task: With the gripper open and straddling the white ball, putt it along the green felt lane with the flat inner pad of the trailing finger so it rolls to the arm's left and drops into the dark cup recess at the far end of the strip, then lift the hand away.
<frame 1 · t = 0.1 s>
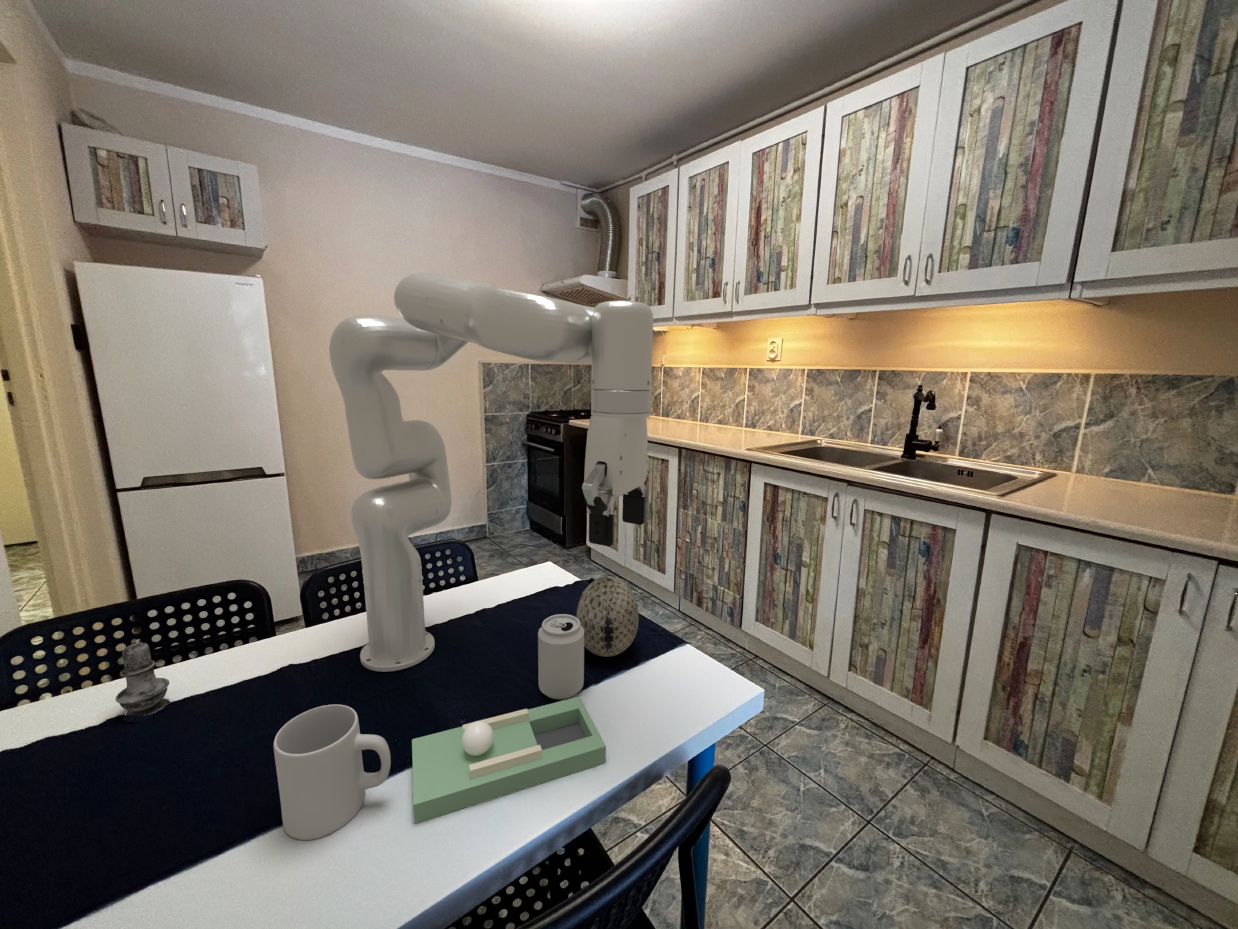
hand: (618, 532, 65), 31 cm above the table, tool pointing down, fingers open, 9 cm apart
gray stone finial: (147, 712, 75), on the table
can: (561, 689, 82), on the table
mug: (341, 808, 59), on the table
decorative egg: (606, 653, 93), on the table
green: (509, 759, 67), on the table
ball: (477, 738, 64), point 5 cm above the table, touching green
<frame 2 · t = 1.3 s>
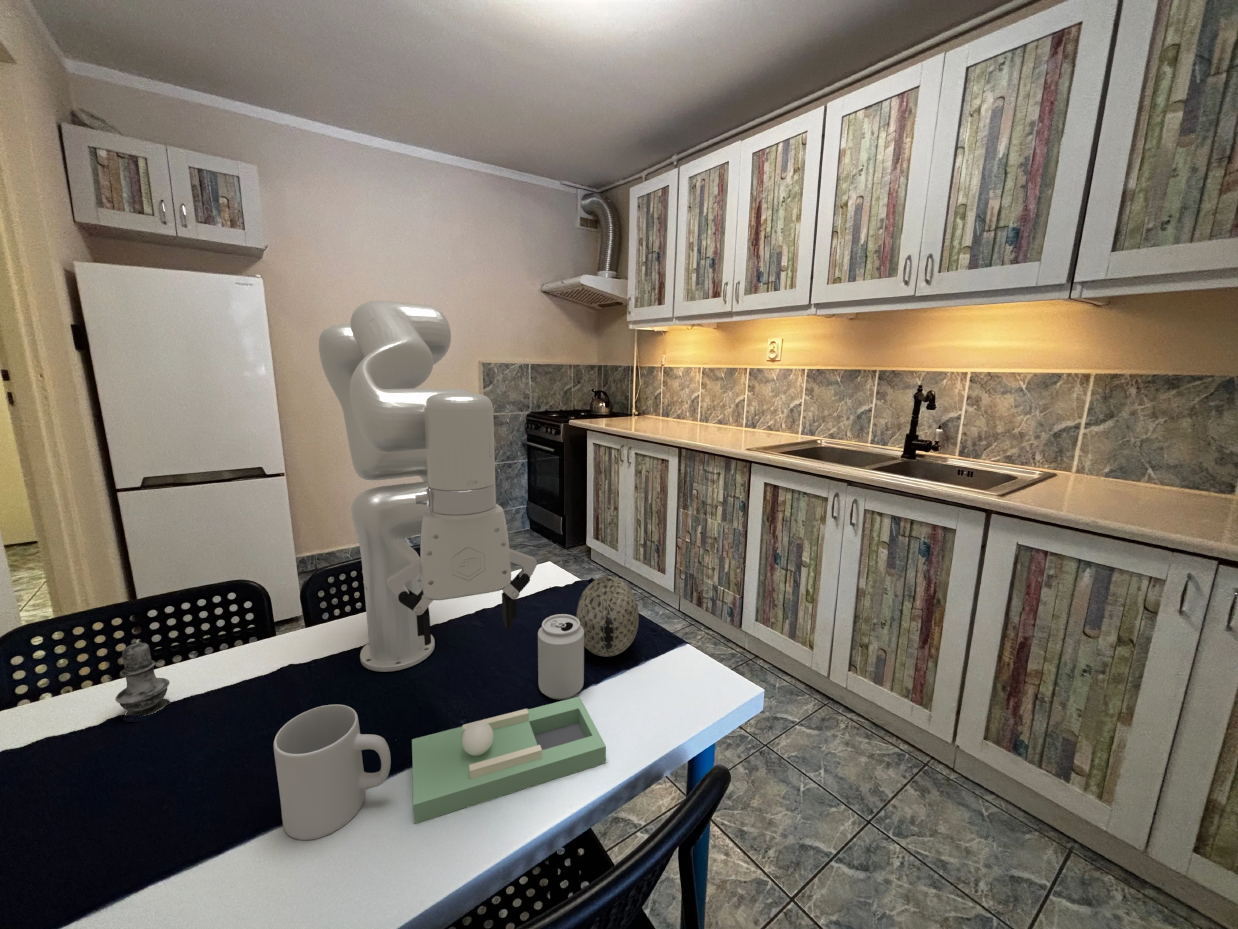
hand: (468, 631, 61), 20 cm above the table, tool pointing down, fingers open, 9 cm apart
nothing on the table moved.
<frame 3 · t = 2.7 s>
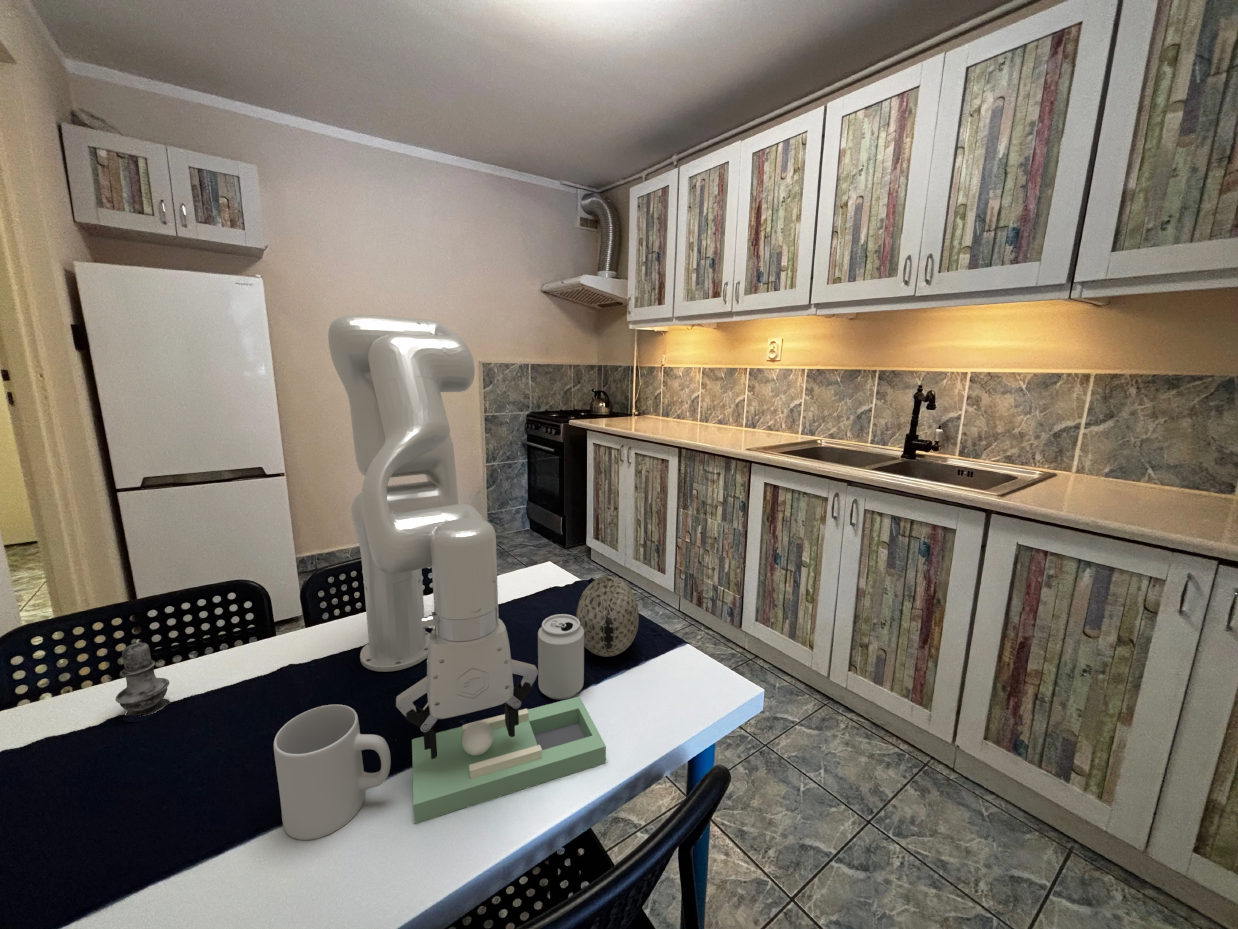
hand: (472, 740, 64), 5 cm above the table, tool pointing down, fingers open, 9 cm apart
nothing on the table moved.
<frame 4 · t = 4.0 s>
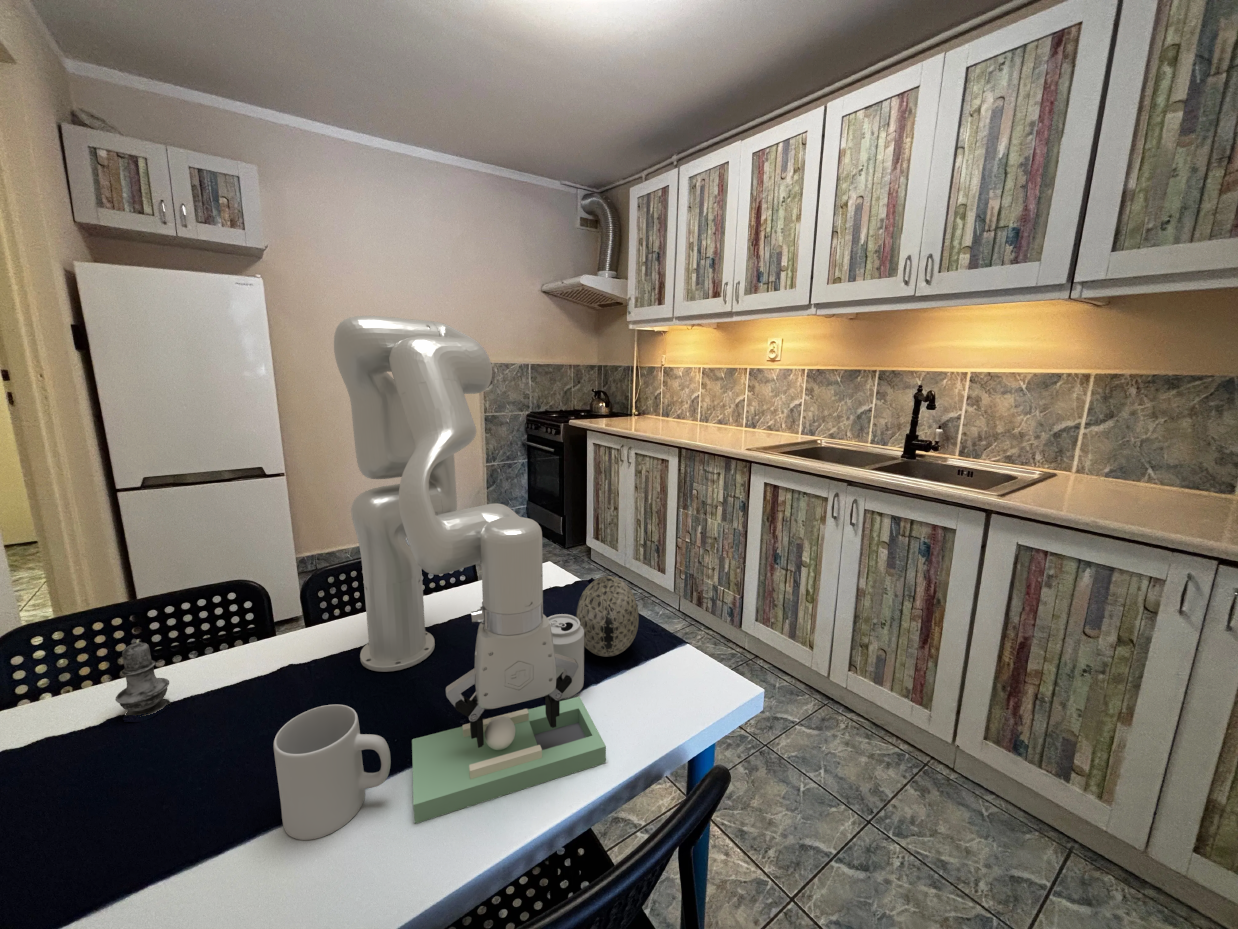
hand: (516, 730, 66), 4 cm above the table, tool pointing down, fingers open, 9 cm apart
ball: (500, 732, 65), point 5 cm above the table, tilted 80°, touching green
everything else where it was.
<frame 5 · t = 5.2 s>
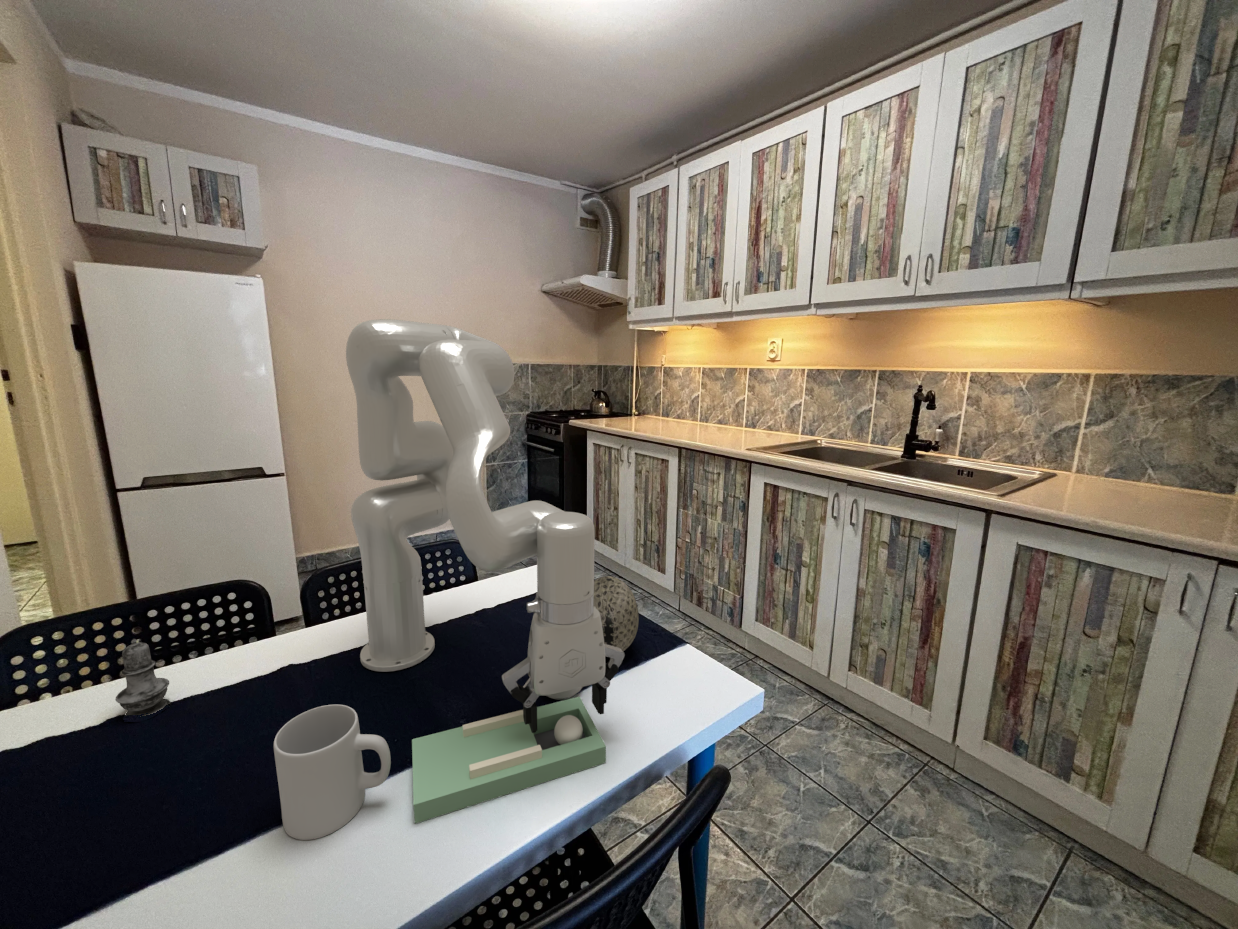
hand: (565, 716, 69), 4 cm above the table, tool pointing down, fingers open, 9 cm apart
ball: (568, 731, 69), point 2 cm above the table, tilted 14°, touching green
everything else where it was.
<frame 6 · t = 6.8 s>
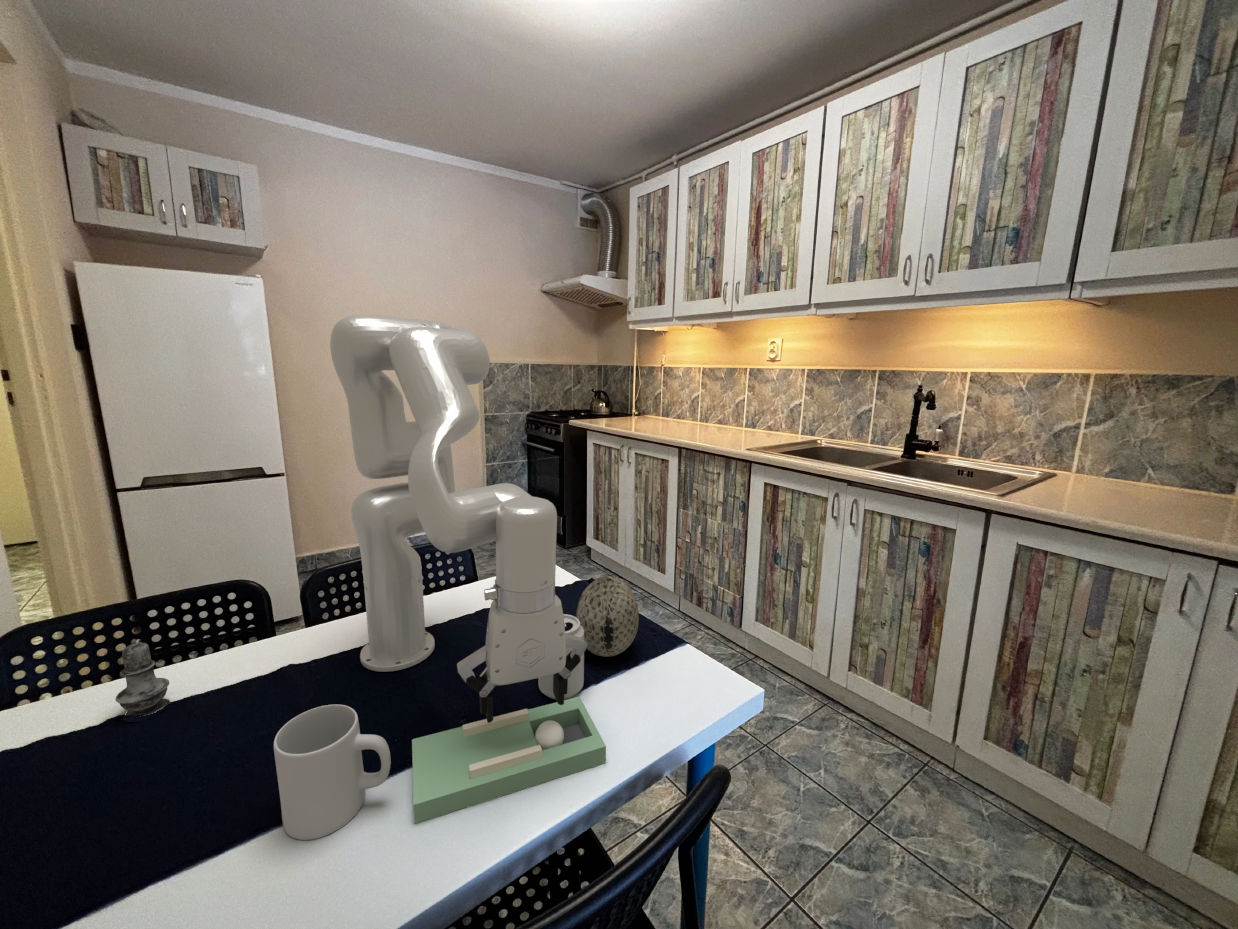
hand: (524, 706, 67), 7 cm above the table, tool pointing down, fingers open, 9 cm apart
ball: (549, 736, 68), point 2 cm above the table, tilted 66°, touching green
everything else where it was.
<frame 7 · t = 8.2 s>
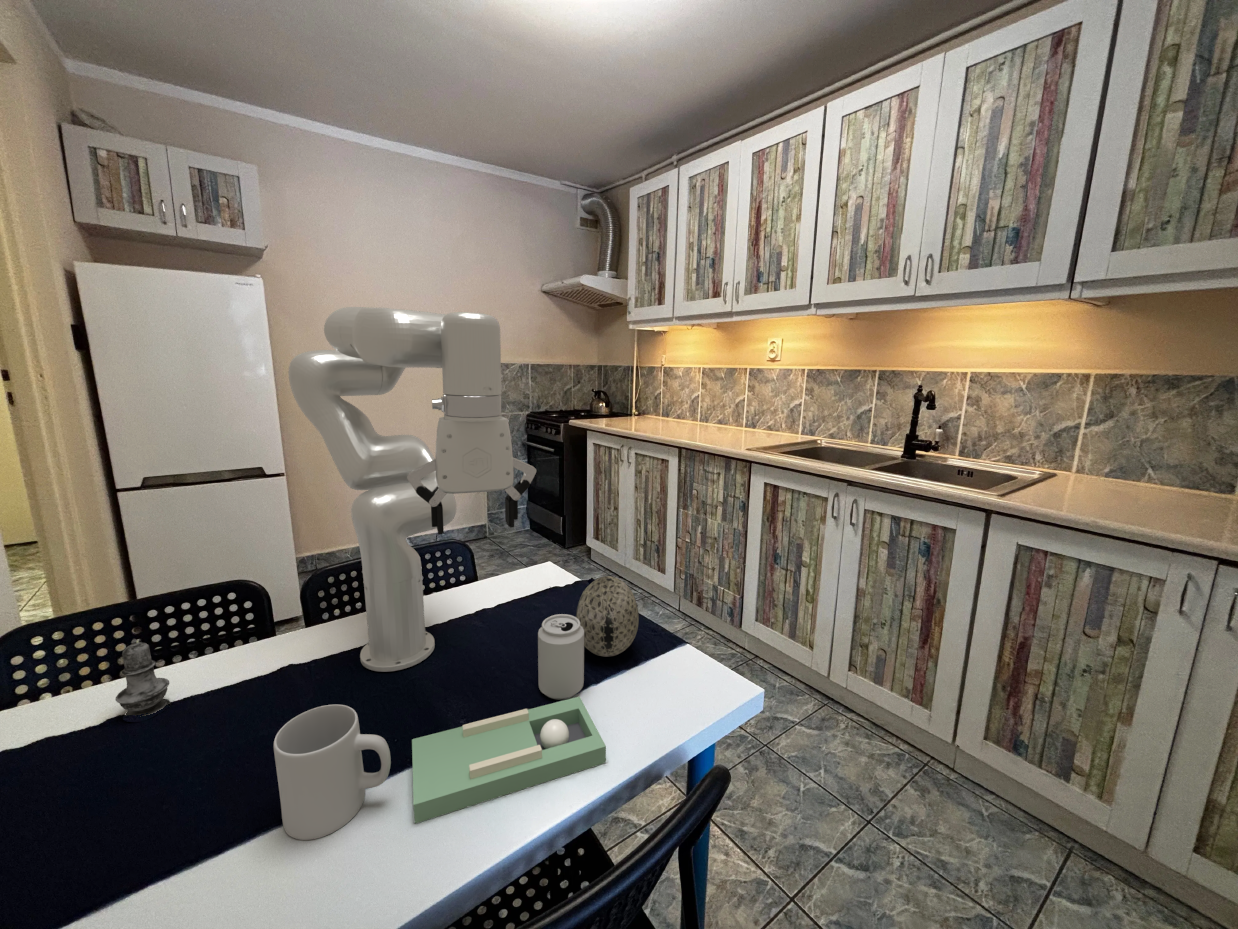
hand: (475, 527, 70), 30 cm above the table, tool pointing down, fingers open, 9 cm apart
ball: (554, 735, 68), point 2 cm above the table, tilted 45°, touching green
everything else where it was.
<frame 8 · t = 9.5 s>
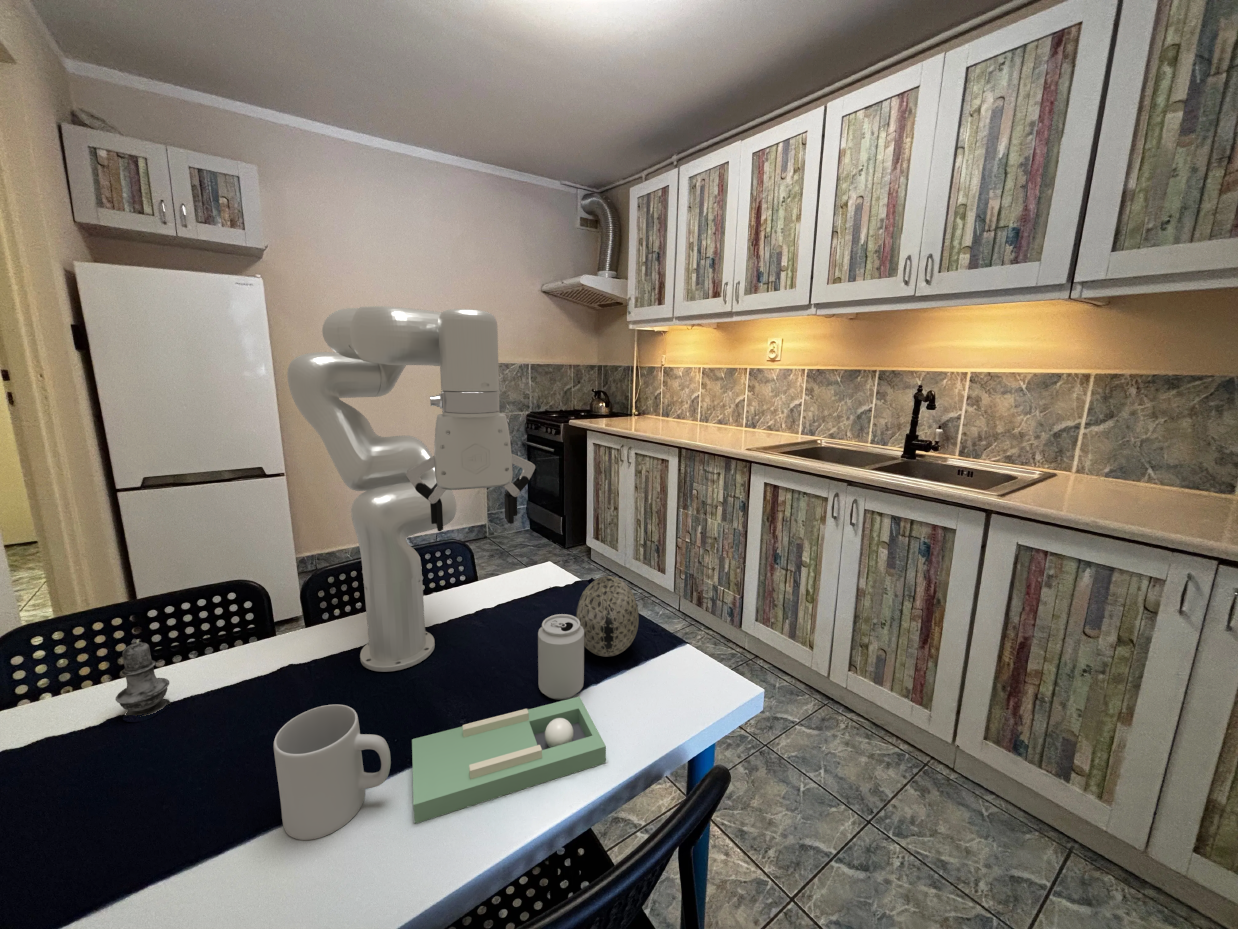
hand: (475, 524, 70), 30 cm above the table, tool pointing down, fingers open, 9 cm apart
ball: (559, 734, 69), point 2 cm above the table, tilted 26°, touching green
everything else where it was.
at the end: ball inside the target area on the green (0.6 cm from its centre), point 2.2 cm above the green's base; the gripper is holding nothing; ball moved 11.3 cm from its start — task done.
